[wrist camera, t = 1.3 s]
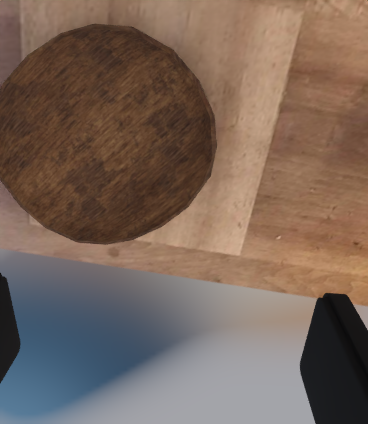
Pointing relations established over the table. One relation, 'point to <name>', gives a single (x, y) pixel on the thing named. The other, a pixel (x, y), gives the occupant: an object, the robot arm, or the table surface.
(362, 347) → the robot arm
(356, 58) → the table surface
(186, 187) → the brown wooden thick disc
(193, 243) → the table surface
